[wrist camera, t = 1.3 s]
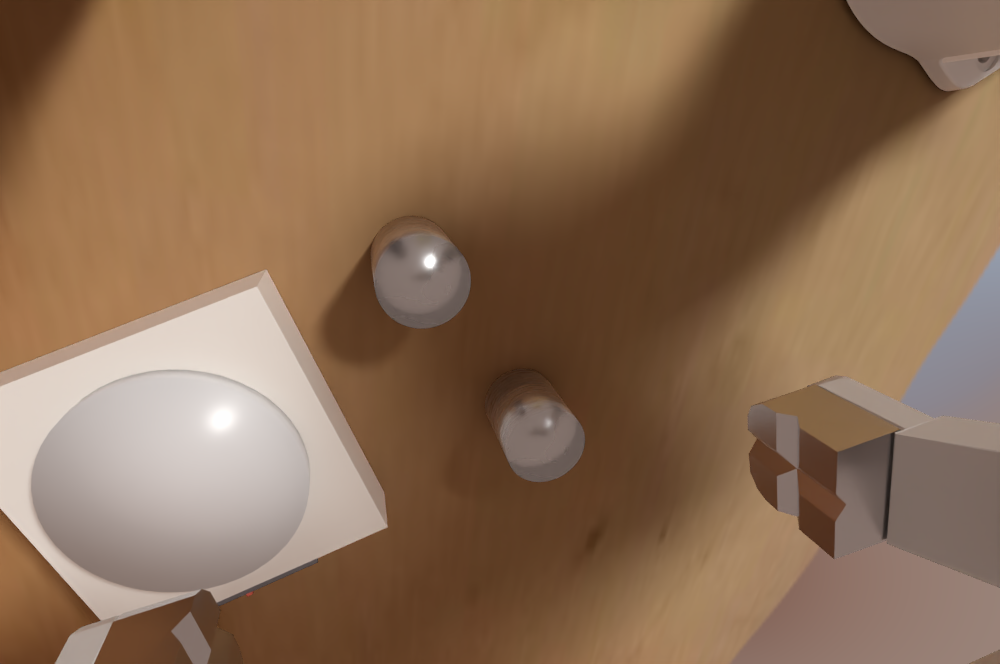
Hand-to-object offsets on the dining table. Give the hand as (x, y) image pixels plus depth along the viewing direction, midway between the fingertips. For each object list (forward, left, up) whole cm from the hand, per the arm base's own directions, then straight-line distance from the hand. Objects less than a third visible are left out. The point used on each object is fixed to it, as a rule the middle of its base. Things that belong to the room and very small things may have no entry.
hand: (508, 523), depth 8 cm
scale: (+13, +6, -22) cm, 26 cm away
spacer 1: (0, +1, -22) cm, 22 cm away
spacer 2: (-3, +11, -22) cm, 24 cm away
